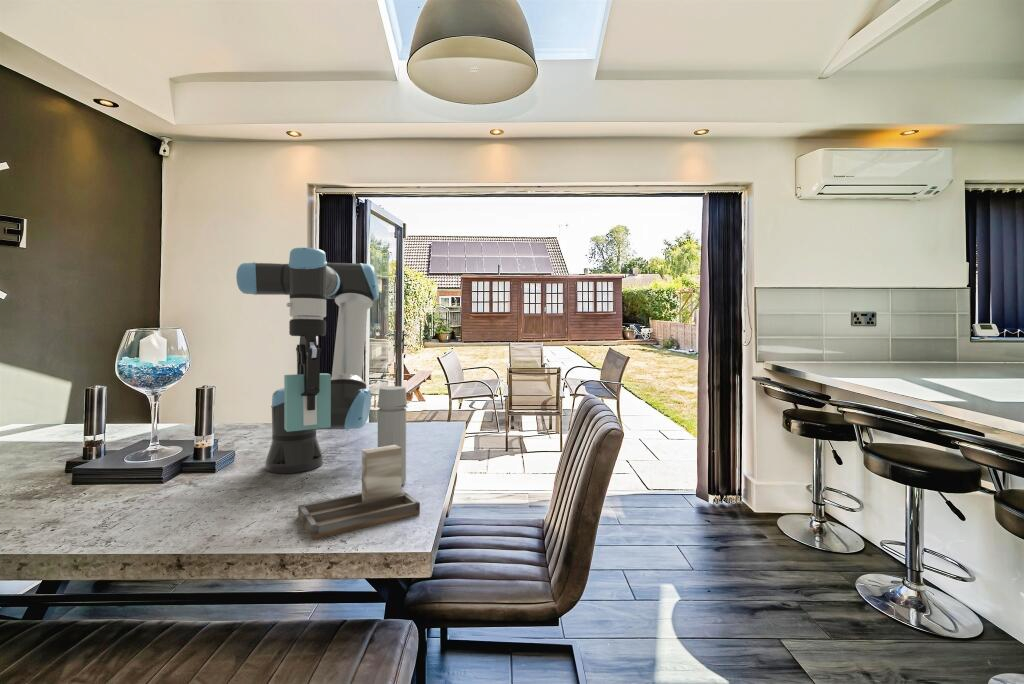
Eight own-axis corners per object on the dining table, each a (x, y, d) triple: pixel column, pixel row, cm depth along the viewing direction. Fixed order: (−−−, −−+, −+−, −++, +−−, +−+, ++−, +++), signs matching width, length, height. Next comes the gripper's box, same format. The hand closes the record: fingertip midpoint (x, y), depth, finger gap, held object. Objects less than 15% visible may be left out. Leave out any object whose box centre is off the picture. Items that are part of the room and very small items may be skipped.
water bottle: (400, 490, 117) (400, 390, 116) (371, 487, 119) (371, 389, 118) (414, 478, 126) (415, 385, 125) (387, 476, 128) (387, 384, 127)
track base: (298, 517, 100) (297, 456, 100) (396, 496, 113) (396, 442, 113) (313, 540, 90) (312, 472, 89) (419, 513, 103) (419, 454, 102)
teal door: (284, 428, 104) (284, 374, 104) (326, 424, 109) (326, 373, 109) (287, 431, 101) (287, 376, 101) (330, 427, 106) (330, 374, 106)
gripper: (283, 318, 110) (283, 419, 110) (296, 317, 96) (296, 431, 96) (317, 319, 114) (317, 416, 114) (335, 318, 100) (334, 427, 101)
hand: (307, 422), depth 105 cm, fingers closed on teal door, 3 cm apart
